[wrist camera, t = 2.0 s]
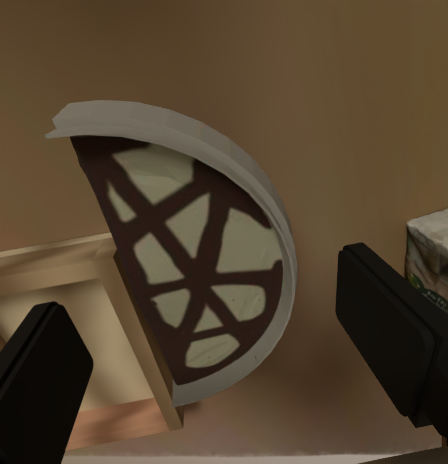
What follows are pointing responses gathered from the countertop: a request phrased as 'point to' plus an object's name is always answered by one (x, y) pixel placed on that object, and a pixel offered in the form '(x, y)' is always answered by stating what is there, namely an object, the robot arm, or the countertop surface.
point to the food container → (190, 237)
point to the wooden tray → (95, 335)
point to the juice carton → (429, 257)
